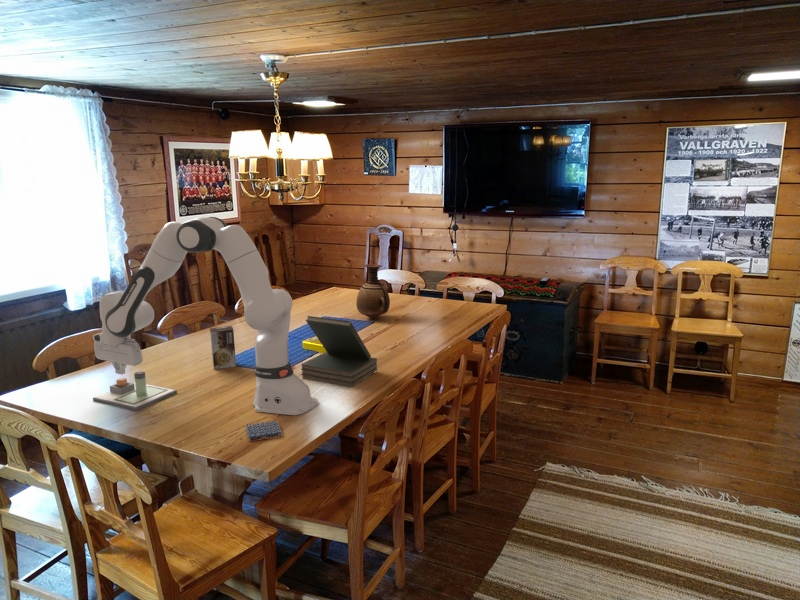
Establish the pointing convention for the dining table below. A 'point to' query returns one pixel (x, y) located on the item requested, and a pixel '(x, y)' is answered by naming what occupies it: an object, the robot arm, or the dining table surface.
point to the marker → (140, 383)
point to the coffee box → (223, 347)
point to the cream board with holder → (133, 396)
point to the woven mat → (263, 430)
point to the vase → (373, 295)
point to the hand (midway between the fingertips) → (120, 373)
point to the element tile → (313, 344)
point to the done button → (121, 382)
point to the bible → (338, 354)
